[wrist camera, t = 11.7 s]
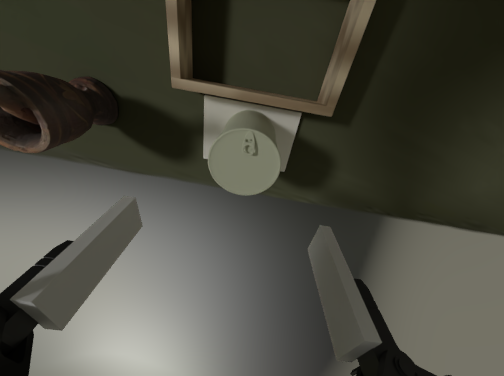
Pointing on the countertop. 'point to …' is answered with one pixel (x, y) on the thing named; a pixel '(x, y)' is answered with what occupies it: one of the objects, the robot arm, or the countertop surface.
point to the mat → (224, 109)
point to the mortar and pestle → (50, 109)
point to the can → (245, 154)
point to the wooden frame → (325, 105)
